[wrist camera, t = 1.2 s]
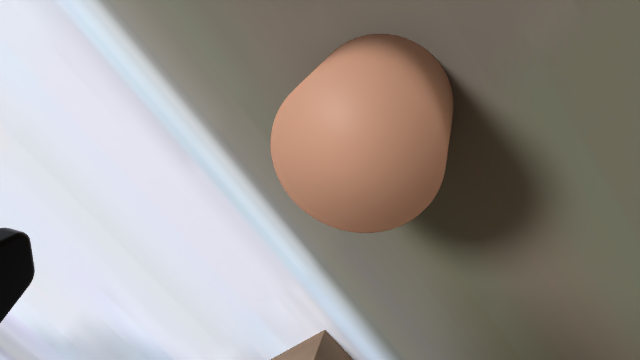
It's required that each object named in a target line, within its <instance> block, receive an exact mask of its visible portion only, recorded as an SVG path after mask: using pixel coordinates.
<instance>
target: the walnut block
mask: <svg viewBox="0 0 640 360" xmlns="http://www.w3.org/2000/svg"><path fill="white" fill-rule="evenodd" d="M271 360H353V359H352V358H351V357H350V356H349V355H348V354H347V353H346V352H345V350H344V349H343V348H342V347H341V346H340V345H339V344H338V343H337V342H336V341H335V340H334V339H333V338H332V337H331V336H330V335H329V334H328V333H327V332H326V330H324V331H322V332H320V333H318V334H316V335H315V336H313V337H311V338H309V339H307V340H305V341H304V342H302V343H300V344H298V345H296V346H294V347H293V348H291V349H289V350H287V351H285V352H283V353H282V354H280V355H278V356H276V357H274V358H273V359H271Z"/></svg>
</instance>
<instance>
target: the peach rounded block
mask: <svg viewBox="0 0 640 360" xmlns="http://www.w3.org/2000/svg"><path fill="white" fill-rule="evenodd" d="M453 108H454V102H453V93H452V88H451V85H450V82H449V79H448V77H447V75H446V73H445V71H444V69H443V68H442V66H441V65H440V63H439V62H438V61H437V60H436V58H435V57H434V56H433V55H432V54H431V53H430V52H428V51H427V50H426V49H425V48H423V47H422V46H420V45H419V44H417V43H415V42H413V41H411V40H409V39H406V38H403V37H400V36H396V35H390V34H371V35H365V36H361V37H358V38H355V39H353V40H350V41H348V42H346V43H345V44H343V45H341V46H340V47H339V48H337V49H336V50H335V51H334V52H333V53H332V54H331V55H329V56H328V57H327V58H326V59H325V60H324V61H323V62H322V63H321V64H320V65H319V66H318V67H317V68H316V69H315V70H314V71H313V72H312V73H311V74H310V75H309V76H308V77H307V78H306V79H305V80H304V81H303V82H302V83H301V84H300V85H298V86H297V87H296V88H295V89H294V90H293V91H292V92H291V93H290V94H289V95H288V97H287V98H286V99H285V101H284V102H283V104H282V105H281V107H280V109H279V111H278V113H277V115H276V118H275V120H274V123H273V128H272V133H271V155H272V160H273V165H274V168H275V171H276V174H277V176H278V178H279V180H280V182H281V184H282V186H283V187H284V189H285V190H286V192H287V193H288V195H289V196H290V197H291V198H292V200H293V201H294V202H295V203H296V204H297V205H298V206H299V207H300V208H301V209H303V210H304V211H305V212H306V213H308V214H309V215H310V216H312V217H313V218H315V219H317V220H318V221H320V222H322V223H324V224H326V225H329V226H331V227H334V228H337V229H340V230H345V231H349V232H357V233H374V232H382V231H386V230H390V229H393V228H396V227H399V226H402V225H403V224H405V223H407V222H409V221H411V220H412V219H414V218H415V217H417V216H418V215H419V214H420V213H421V212H423V211H424V210H425V209H426V208H427V207H428V205H429V204H430V203H431V202H432V200H433V199H434V197H435V196H436V194H437V192H438V191H439V188H440V186H441V183H442V181H443V177H444V173H445V169H446V161H447V154H448V147H449V140H450V132H451V125H452V118H453Z"/></svg>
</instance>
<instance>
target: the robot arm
mask: <svg viewBox="0 0 640 360" xmlns="http://www.w3.org/2000/svg"><path fill="white" fill-rule="evenodd" d="M34 271H35V270H34V262H33V256H32V249H31V242H30V238H29V237H28V235H27V234H25V233H23V232H20V231H17V230H13V229H10V228H0V323H1V321H2V320H3V319H4V318H5V316H6V315H7V314H8V312H9V311H10V310H11V308H12V307H13V306H14V304H15V303H16V302H17V301H18V299H19V298H20V297H21V295H22V294H23V293H24V291H25V290H26V289H27V288H28V286H29V285H30V283H31V281H32V279H33V277H34Z"/></svg>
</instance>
